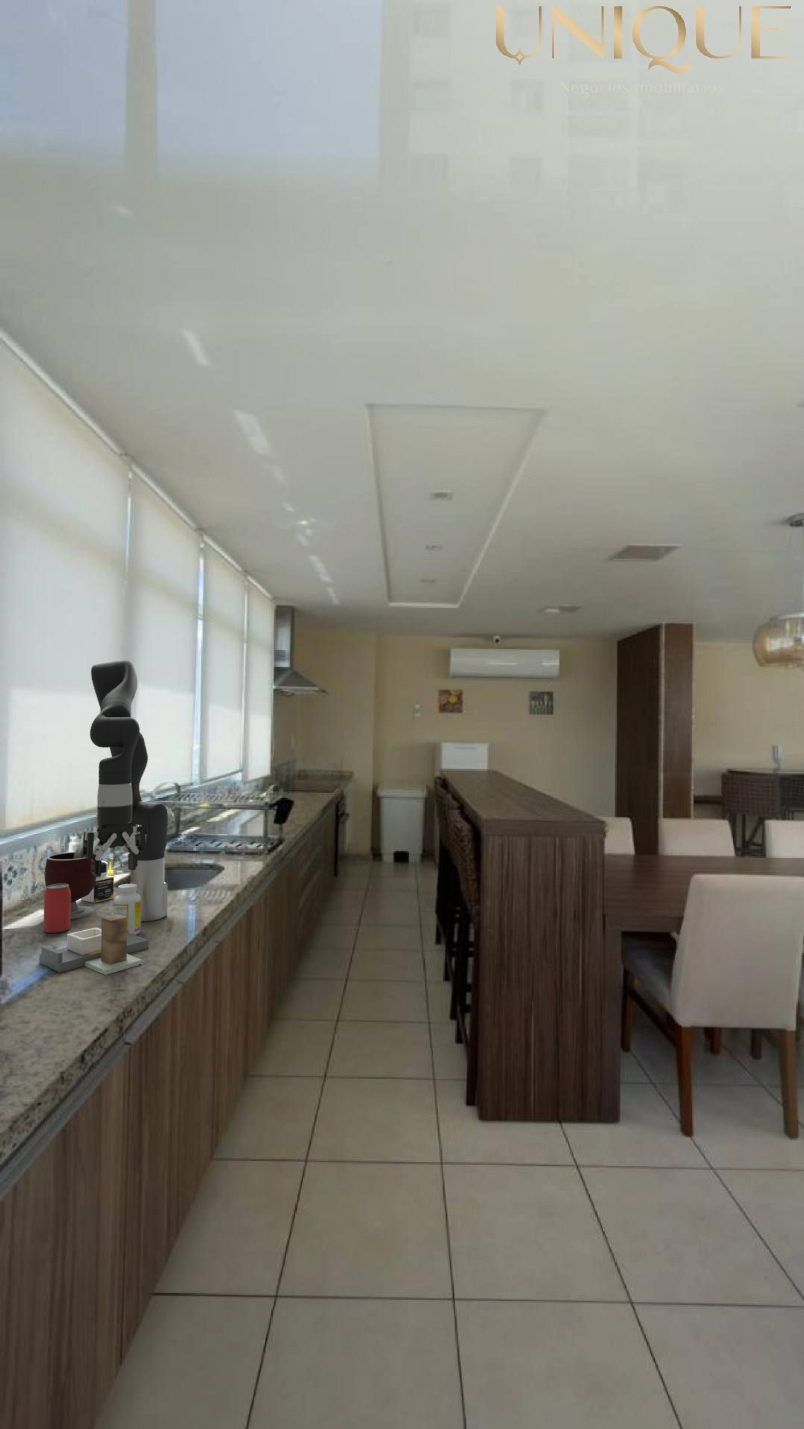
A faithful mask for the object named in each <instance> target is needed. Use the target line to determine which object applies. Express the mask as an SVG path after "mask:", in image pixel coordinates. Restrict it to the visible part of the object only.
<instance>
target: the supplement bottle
mask: <svg viewBox="0 0 804 1429" xmlns="http://www.w3.org/2000/svg"><path fill="white" fill-rule="evenodd" d="M136 890H137V885H136V884H131V883H124V884H120V885H118V886H117V892H118V894H117V895H116V896H114V898H113V900H114V901H113V915H116V914H119V915H122V916H126V917H127V933H130V934H133V935H136V936H138V934H140V933H141V930H142V921H141V897H140V895H139V894H137V893H136Z"/></svg>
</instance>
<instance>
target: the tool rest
mask: <svg viewBox="0 0 804 1429" xmlns="http://www.w3.org/2000/svg"><path fill="white" fill-rule="evenodd" d="M139 964H141V965H143V959H141V958H138V957H136V956H134V955H131V954H129V953H128V954H127V960H126V961H122V962H119V963H115V964H112V965H109V964H107V963H104V962H102V961H101V958H98V959H94V960H90V961H87V962H85V966H84V967H85V968H87V969H91V971H95V972H97V973H100V974H102V975H104V976H107V975H110V974H113V973H117V972H120V971H123V970H127V969H129V968H130V967H131V968H133V967H136V966H140V965H139Z"/></svg>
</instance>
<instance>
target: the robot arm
mask: <svg viewBox="0 0 804 1429" xmlns="http://www.w3.org/2000/svg"><path fill="white" fill-rule="evenodd" d="M90 676H91V683H92V686H93V690H94V694H95V696H96V700H97V703H98V706H99V709H100V711H99V713H98V715H96V717H95V718H94V719H93V721H92V722H91V725H90V729H89V730H90V731H89V738H90V740H91V742H92V744H93V745H95V746H97V747H98V748H102V749H103V748H107V749H108V748H109V751H110V756H111V757H106V758H103V759H101V760H100V761H99V763H98V789H97V800H96V801H97V805H96V806H97V810H96V812H97V814H96V816H97V830H96V831H90V830H89V831H87V830H86V831H84V832H83V838H82V843H83V851H82V857H83V858H88V859H90V860H91V873H92V874H93V875H94V876H95V877H100V876H101V861H102V860H101V858H102V857H103V856H104V854H105V853H106V852H107V851H108V850H109V849H114V848H117V847H118V848H121V847H124V848H125V849H126V850H127V852H128V853H127V869H128V870H129V871H130V884H136V885H137V890H136V893H137V894H139V895H140V897H141V922H153V921H158V920H160V919H162V918H164V917H167V916H168V882H165V854H166V848H167V844H168V843H167V839H168V824H169V814H168V809H167V807H166V805H165V804H164V803H162V802H158V801H157V802H155V801H154V802H152V801H143V800H142V797H141V796H142V795H141V791H140V784H141V780H142V778H143V775H144V773H145V770H146V768H147V766H148V760H149V755H148V751H147V747H146V746H147V745H146V742H145V738H144V736H143V734H142V733H141V729H140V725H139V723H138V721H137V720H136V719H135V718H134V717H132V703H133V701H134V698H135V696H136V693H137V690H138V675H137V671H136V668H135V665H134V664H133V662H131V661H129V660H125V659H124V660H123V659H121V660H115V661H107V662H102V663H96V664H93V665H92V666H91V669H90ZM132 834H133V835H134V840H135V841H133V840H132V838H131V836H132ZM96 838H97V839H98V842H97V843H96V844H95V846H94V842H95V841H96Z"/></svg>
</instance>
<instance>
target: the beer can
mask: <svg viewBox="0 0 804 1429" xmlns="http://www.w3.org/2000/svg"><path fill="white" fill-rule="evenodd" d="M71 921H72V919H71V891H70V888H69V885H68V884H53V885H49V886H47V887H46V886H45V891H44V893H43V931H44V932H45V933H48V934H59V933H64V932H66V931H68V930H70V929H71V927H72V926H71V924H72V923H71Z"/></svg>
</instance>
